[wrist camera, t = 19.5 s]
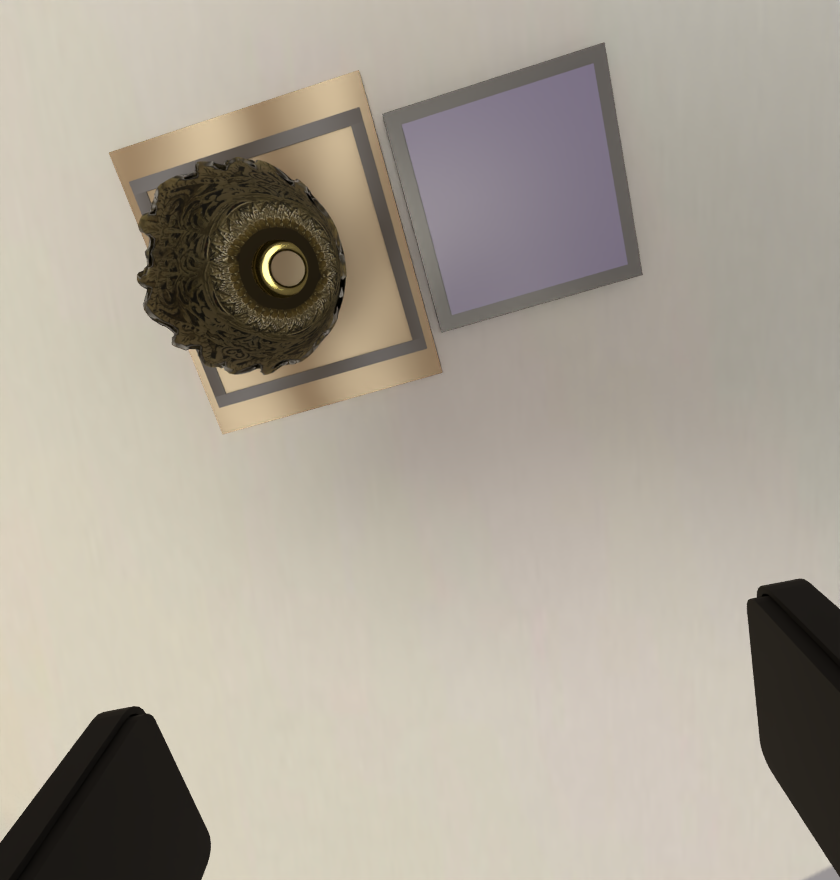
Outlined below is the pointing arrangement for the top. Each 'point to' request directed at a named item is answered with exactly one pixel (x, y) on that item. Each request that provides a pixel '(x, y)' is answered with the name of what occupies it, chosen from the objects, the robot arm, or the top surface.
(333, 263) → the cup
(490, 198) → the ink pad
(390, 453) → the top surface
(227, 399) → the board
